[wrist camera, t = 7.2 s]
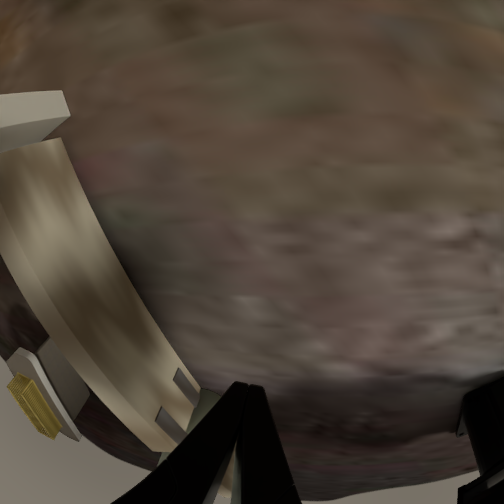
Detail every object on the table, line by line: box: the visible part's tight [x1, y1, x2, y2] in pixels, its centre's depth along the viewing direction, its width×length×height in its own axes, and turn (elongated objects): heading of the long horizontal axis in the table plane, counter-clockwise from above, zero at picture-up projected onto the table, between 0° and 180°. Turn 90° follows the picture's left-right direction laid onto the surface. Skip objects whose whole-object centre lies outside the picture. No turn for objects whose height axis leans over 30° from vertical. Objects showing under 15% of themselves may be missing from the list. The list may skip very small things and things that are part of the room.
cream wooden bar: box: [0, 137, 201, 452], centre depth 13 cm, size 17×2×5 cm, turn 22°
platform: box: [6, 336, 90, 442], centre depth 18 cm, size 12×18×7 cm, turn 177°
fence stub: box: [218, 441, 237, 498], centre depth 19 cm, size 5×1×5 cm, turn 22°
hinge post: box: [157, 389, 221, 466], centre depth 15 cm, size 3×3×9 cm
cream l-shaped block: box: [0, 91, 71, 153], centre depth 10 cm, size 4×4×6 cm
